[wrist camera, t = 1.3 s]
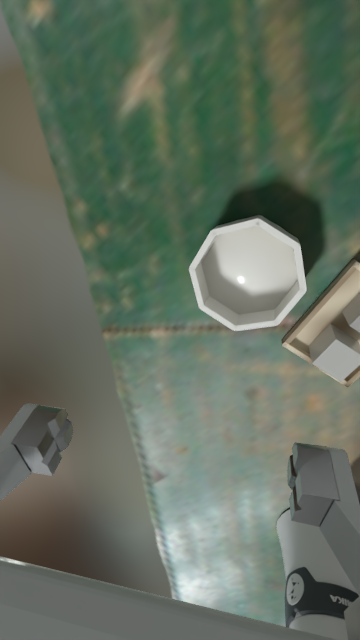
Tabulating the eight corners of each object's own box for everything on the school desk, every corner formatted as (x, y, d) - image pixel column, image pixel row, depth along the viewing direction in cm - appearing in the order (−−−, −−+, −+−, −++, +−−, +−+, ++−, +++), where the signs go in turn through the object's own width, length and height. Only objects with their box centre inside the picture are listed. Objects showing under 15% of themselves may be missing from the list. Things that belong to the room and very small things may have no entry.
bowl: (324, 254, 36) (329, 263, 32) (260, 332, 42) (259, 347, 38) (234, 197, 37) (229, 199, 33) (183, 282, 42) (174, 292, 39)
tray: (428, 305, 35) (434, 310, 34) (345, 380, 42) (347, 387, 40) (353, 258, 36) (356, 261, 34) (281, 339, 42) (281, 345, 40)
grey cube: (357, 340, 39) (366, 358, 35) (334, 362, 40) (340, 382, 37) (330, 323, 39) (336, 339, 35) (308, 346, 41) (312, 363, 37)
